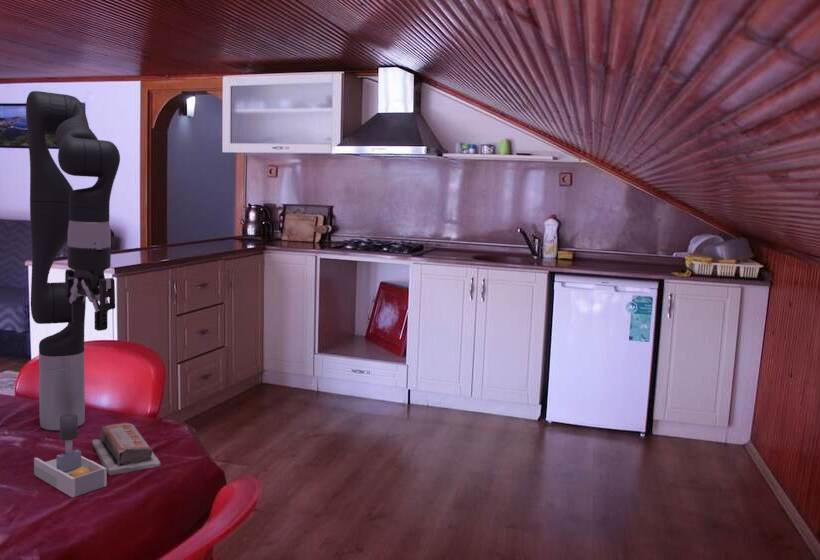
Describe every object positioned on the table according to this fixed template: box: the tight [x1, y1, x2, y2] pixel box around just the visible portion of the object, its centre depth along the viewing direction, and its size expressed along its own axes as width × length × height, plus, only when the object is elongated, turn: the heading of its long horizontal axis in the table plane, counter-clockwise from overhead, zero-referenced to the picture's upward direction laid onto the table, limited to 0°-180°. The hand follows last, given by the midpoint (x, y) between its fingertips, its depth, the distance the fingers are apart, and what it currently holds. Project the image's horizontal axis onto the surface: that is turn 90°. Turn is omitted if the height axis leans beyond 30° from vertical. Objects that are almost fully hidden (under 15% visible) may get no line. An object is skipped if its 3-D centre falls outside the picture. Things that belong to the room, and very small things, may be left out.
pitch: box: [33, 455, 90, 489], centre depth 127 cm, size 8×6×3 cm
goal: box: [56, 459, 108, 499], centre depth 123 cm, size 6×6×4 cm
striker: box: [55, 414, 82, 472], centre depth 125 cm, size 3×4×10 cm
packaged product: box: [91, 422, 162, 476], centre depth 139 cm, size 18×5×10 cm
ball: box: [71, 467, 90, 478], centre depth 123 cm, size 4×4×4 cm
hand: (89, 325), depth 130 cm, fingers open, 8 cm apart
